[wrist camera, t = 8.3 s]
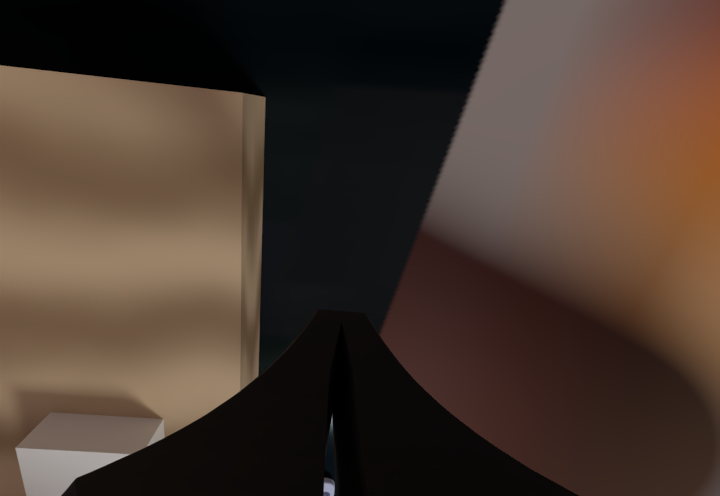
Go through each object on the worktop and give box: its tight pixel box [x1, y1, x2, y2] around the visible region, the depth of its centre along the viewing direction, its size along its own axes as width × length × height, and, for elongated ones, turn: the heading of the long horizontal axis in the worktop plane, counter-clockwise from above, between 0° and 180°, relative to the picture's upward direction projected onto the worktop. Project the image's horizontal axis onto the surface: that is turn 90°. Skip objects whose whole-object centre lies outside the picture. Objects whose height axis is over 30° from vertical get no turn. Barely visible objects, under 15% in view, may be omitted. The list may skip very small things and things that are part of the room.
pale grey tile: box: [15, 412, 165, 496], centre depth 18 cm, size 5×5×2 cm
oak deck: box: [0, 65, 265, 496], centre depth 18 cm, size 20×12×4 cm, turn 174°
